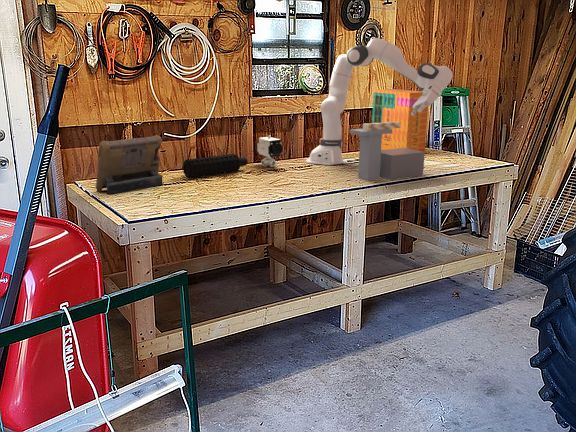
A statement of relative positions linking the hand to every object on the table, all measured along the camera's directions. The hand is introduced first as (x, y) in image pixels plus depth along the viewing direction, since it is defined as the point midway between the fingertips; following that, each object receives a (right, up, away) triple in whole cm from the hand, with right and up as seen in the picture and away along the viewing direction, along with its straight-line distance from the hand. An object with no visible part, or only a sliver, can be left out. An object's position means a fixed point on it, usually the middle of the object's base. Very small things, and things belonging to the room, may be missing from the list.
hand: (415, 113), depth 301 cm
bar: (-19, -9, -4) cm, 21 cm away
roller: (-107, -32, +9) cm, 112 cm away
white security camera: (-79, -26, +30) cm, 89 cm away
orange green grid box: (+7, -9, +89) cm, 90 cm away
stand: (-25, -35, 0) cm, 43 cm away
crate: (-8, -32, +9) cm, 35 cm away
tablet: (-144, -41, -25) cm, 152 cm away
